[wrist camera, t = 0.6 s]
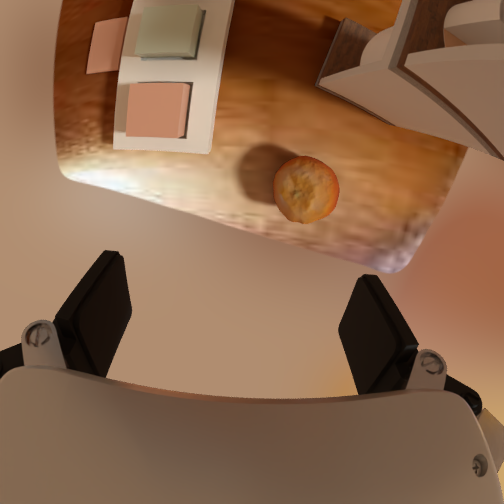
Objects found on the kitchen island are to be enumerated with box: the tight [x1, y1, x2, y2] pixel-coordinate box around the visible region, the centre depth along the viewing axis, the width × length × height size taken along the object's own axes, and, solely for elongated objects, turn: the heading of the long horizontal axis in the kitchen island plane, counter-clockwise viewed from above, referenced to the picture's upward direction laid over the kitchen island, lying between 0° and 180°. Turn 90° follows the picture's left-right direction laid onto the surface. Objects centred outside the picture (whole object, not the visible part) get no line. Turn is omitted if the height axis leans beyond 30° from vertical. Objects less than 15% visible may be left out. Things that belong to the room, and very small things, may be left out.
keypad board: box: [113, 0, 235, 154], centre depth 24 cm, size 29×12×3 cm, turn 172°
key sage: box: [135, 4, 203, 58], centre depth 21 cm, size 6×6×3 cm
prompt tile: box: [86, 17, 129, 74], centre depth 24 cm, size 8×5×1 cm, turn 172°
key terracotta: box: [126, 83, 190, 138], centre depth 26 cm, size 6×6×3 cm
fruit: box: [273, 156, 340, 224], centre depth 32 cm, size 8×8×8 cm
